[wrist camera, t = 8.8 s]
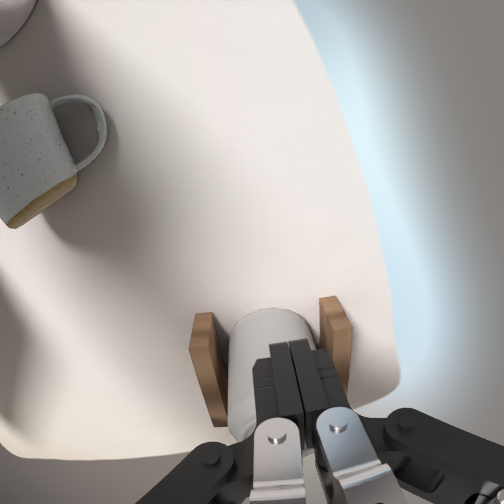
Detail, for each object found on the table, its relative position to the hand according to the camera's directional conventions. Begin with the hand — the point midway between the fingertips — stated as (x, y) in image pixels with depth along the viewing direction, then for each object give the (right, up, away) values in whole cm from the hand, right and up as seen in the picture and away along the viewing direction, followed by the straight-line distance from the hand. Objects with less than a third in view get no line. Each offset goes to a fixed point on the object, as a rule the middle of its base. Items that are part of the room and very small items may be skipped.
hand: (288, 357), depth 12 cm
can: (0, -4, +17) cm, 18 cm away
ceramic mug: (-18, +13, +10) cm, 24 cm away
